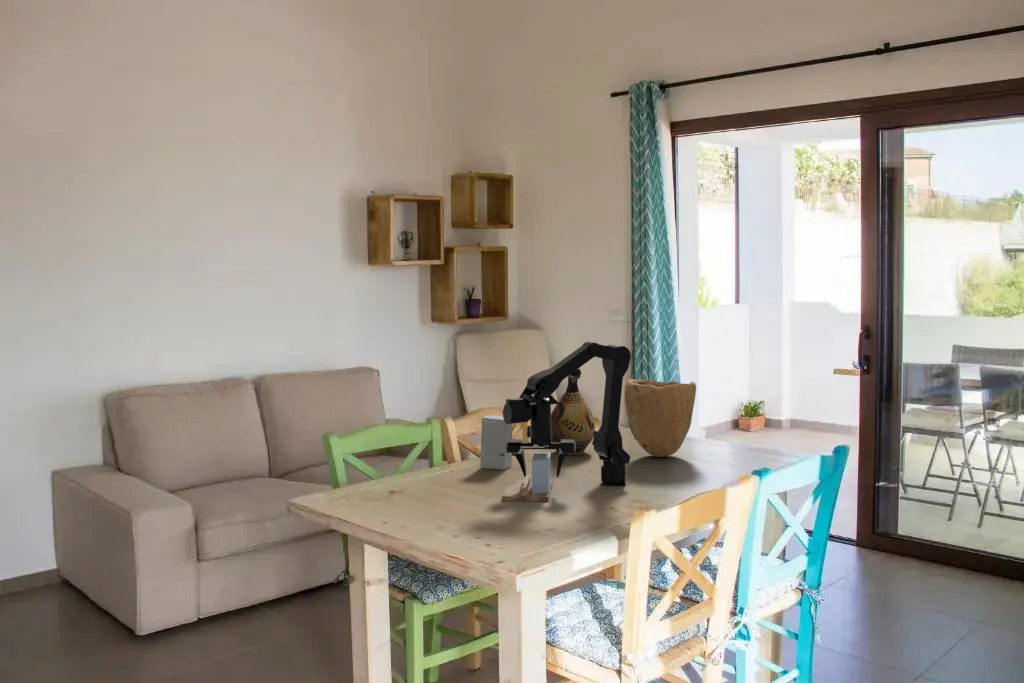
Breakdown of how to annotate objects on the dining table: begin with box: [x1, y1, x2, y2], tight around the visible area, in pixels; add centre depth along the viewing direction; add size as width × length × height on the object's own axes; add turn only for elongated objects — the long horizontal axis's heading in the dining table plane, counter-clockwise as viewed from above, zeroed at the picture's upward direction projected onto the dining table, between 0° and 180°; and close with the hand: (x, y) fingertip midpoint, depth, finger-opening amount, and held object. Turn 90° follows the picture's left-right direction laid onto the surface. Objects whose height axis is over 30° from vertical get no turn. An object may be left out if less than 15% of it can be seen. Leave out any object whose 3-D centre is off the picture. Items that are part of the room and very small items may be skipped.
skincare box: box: [479, 414, 514, 471], centre depth 302 cm, size 8×7×16 cm
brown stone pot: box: [624, 378, 697, 458], centre depth 312 cm, size 22×22×25 cm
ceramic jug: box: [551, 368, 596, 457], centre depth 322 cm, size 17×15×30 cm
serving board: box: [501, 474, 554, 502], centre depth 271 cm, size 12×18×3 cm
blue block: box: [531, 452, 552, 493], centre depth 270 cm, size 4×10×9 cm, turn 174°
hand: (541, 476), depth 270 cm, fingers open, 9 cm apart
